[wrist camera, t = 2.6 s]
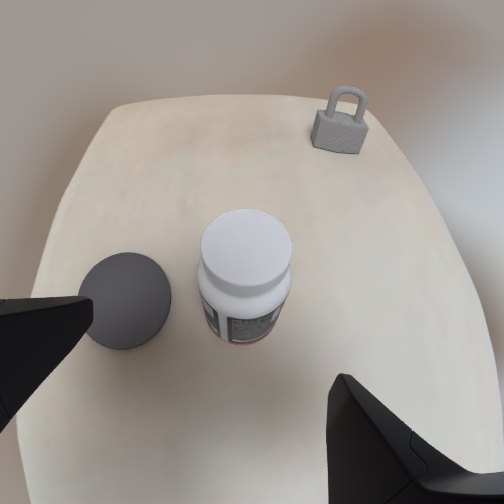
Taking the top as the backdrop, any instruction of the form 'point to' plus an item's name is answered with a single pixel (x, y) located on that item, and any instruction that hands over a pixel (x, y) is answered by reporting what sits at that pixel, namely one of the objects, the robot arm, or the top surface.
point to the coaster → (126, 300)
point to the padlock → (340, 124)
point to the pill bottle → (244, 274)
